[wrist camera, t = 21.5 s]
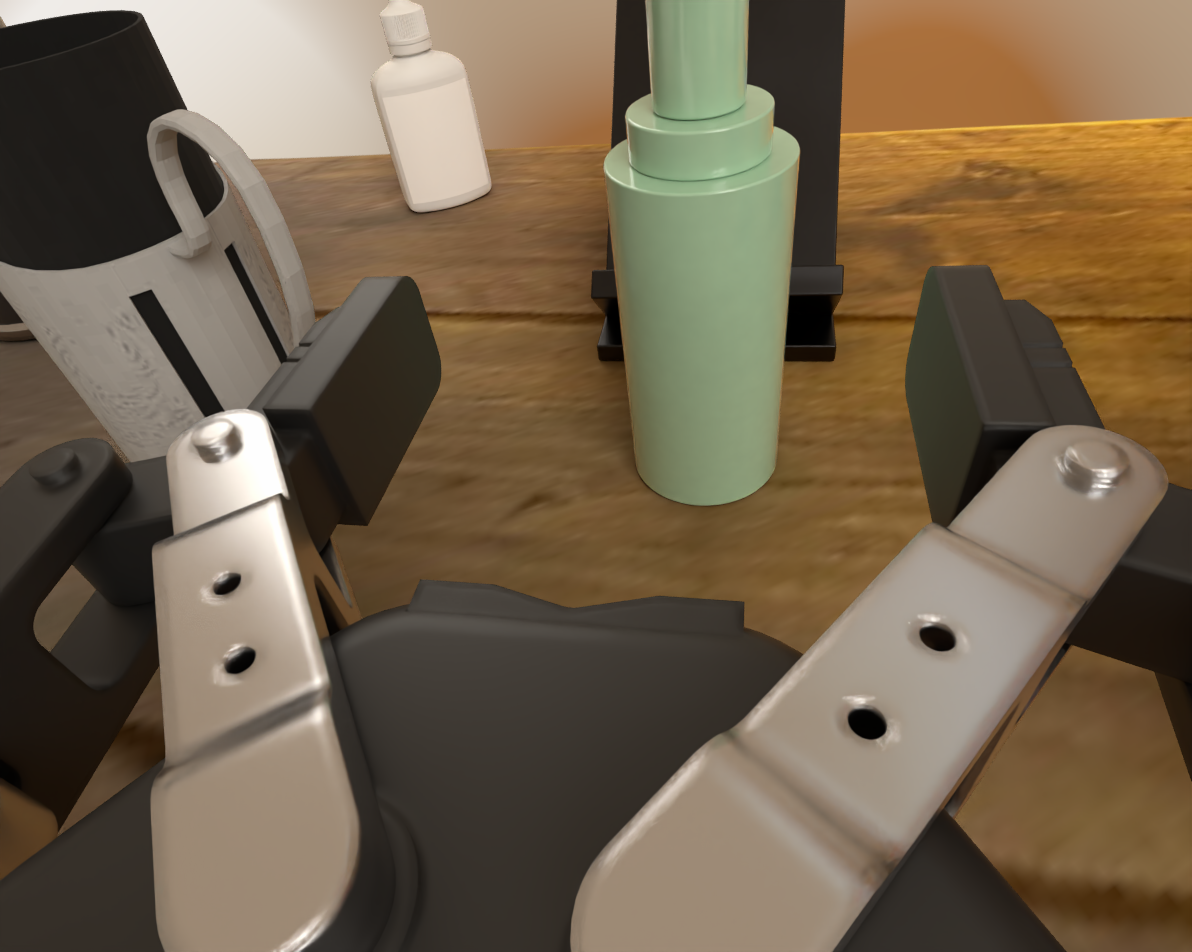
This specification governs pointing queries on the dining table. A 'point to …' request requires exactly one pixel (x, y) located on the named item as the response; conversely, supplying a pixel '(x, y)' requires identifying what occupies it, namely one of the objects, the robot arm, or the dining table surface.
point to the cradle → (802, 108)
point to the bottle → (703, 257)
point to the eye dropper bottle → (428, 116)
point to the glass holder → (136, 233)
